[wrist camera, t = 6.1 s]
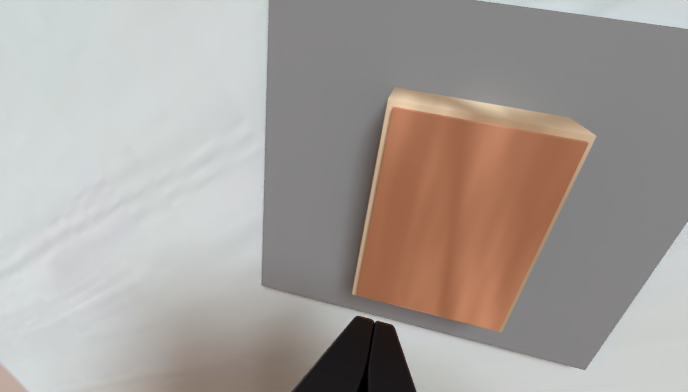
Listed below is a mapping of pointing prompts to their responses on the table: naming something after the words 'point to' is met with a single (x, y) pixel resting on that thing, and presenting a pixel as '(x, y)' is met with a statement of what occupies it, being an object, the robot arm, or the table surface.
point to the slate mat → (488, 87)
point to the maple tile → (463, 204)
